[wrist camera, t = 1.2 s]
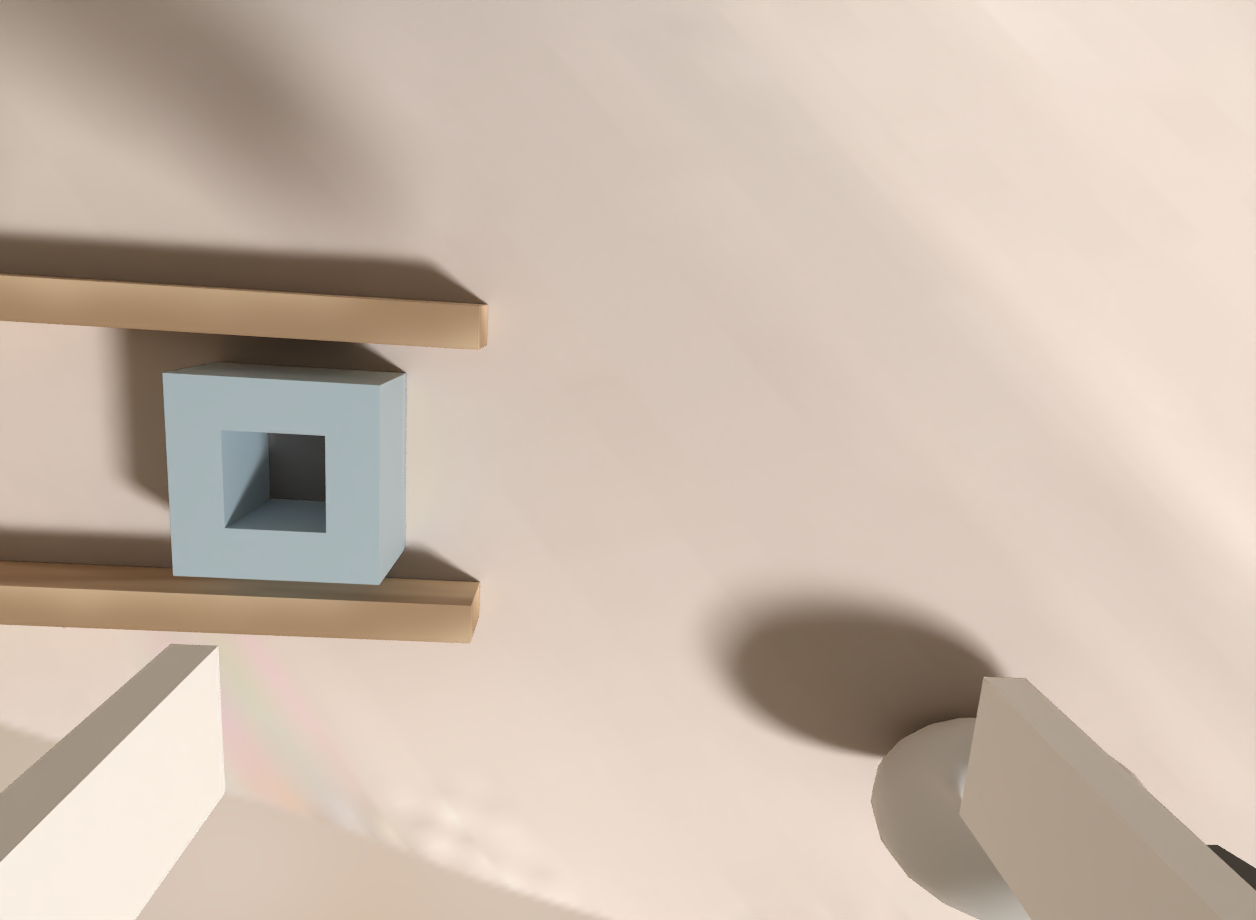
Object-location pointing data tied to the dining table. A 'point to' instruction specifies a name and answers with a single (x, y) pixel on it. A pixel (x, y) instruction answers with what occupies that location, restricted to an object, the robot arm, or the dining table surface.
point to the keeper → (239, 472)
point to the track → (227, 601)
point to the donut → (939, 821)
